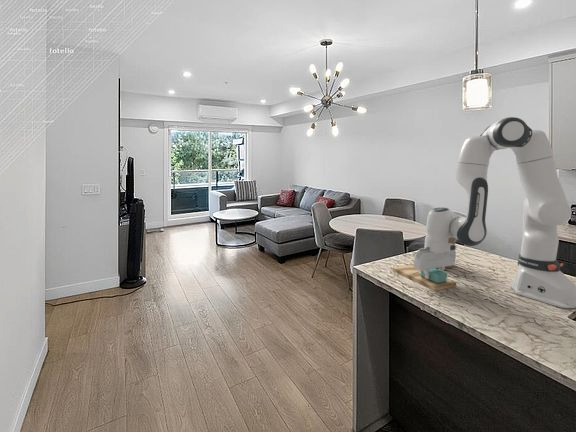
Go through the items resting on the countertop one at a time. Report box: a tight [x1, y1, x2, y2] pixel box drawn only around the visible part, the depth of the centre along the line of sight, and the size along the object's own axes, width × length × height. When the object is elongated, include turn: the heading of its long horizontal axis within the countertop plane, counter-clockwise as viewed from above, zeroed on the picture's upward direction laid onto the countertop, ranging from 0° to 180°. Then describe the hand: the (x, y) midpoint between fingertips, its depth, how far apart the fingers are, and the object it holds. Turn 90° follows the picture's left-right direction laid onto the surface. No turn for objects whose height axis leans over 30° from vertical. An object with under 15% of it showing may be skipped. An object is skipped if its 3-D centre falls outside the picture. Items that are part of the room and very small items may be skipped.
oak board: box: [392, 264, 458, 291], centre depth 139 cm, size 25×12×2 cm, turn 23°
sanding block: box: [421, 268, 448, 284], centre depth 133 cm, size 9×5×4 cm, turn 23°
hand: (433, 277), depth 134 cm, fingers closed on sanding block, 5 cm apart
